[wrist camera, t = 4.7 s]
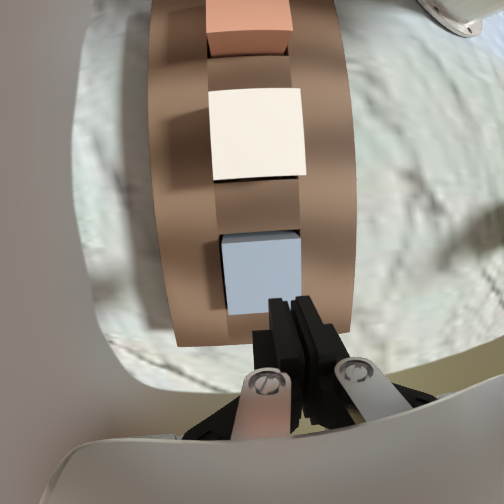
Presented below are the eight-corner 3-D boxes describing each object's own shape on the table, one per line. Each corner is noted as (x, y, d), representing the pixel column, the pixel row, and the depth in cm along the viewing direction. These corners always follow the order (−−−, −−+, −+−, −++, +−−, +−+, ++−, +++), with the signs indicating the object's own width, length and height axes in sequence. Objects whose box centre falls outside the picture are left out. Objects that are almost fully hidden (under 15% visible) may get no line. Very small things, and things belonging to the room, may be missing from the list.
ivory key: (214, 107, 17) (208, 91, 13) (287, 104, 17) (300, 88, 13) (218, 179, 18) (213, 180, 15) (292, 174, 19) (306, 175, 15)
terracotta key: (210, 7, 15) (206, -22, 11) (276, 4, 15) (284, -24, 11) (211, 57, 16) (206, 33, 12) (283, 55, 16) (293, 30, 12)
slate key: (224, 231, 22) (221, 243, 18) (289, 226, 22) (300, 238, 18) (230, 291, 23) (228, 315, 19) (290, 287, 23) (301, 309, 19)
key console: (164, 6, 17) (154, -16, 13) (316, 0, 17) (327, -21, 14) (185, 322, 25) (177, 346, 21) (335, 310, 26) (349, 332, 22)
